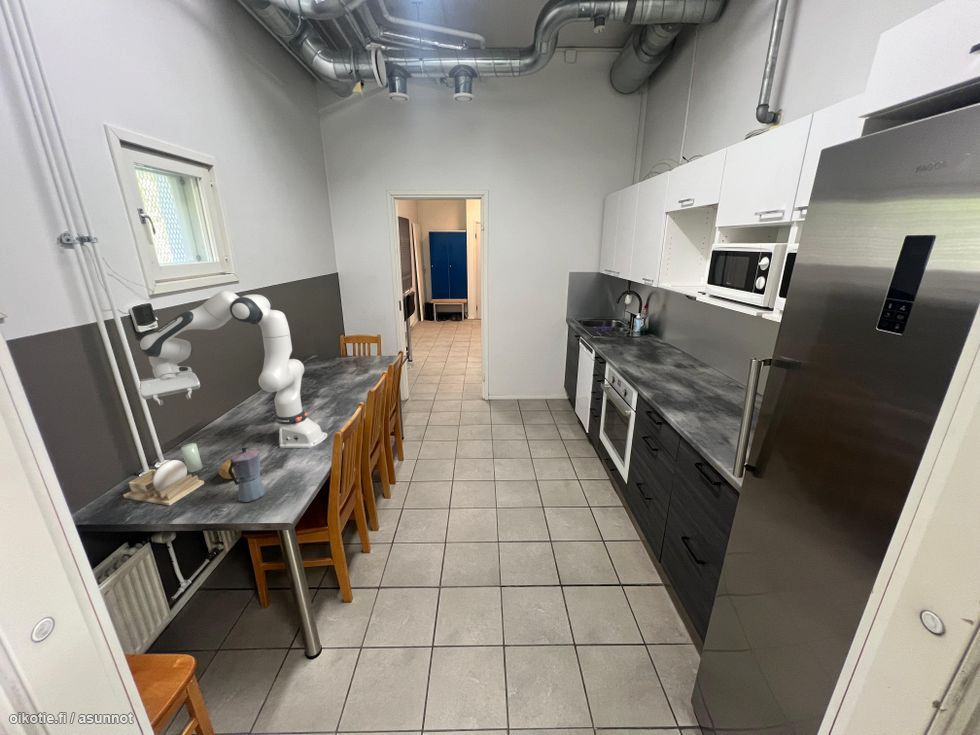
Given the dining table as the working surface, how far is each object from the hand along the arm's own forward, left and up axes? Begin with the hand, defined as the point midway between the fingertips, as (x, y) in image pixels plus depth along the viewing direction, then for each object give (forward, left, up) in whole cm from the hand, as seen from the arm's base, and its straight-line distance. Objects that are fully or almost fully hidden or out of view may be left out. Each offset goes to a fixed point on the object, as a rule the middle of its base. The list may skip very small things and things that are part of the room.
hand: (175, 401), depth 164 cm
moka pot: (-50, +18, -28) cm, 60 cm away
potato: (-32, +7, -28) cm, 43 cm away
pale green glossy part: (-10, +7, -28) cm, 30 cm away
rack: (-13, +22, -28) cm, 38 cm away
